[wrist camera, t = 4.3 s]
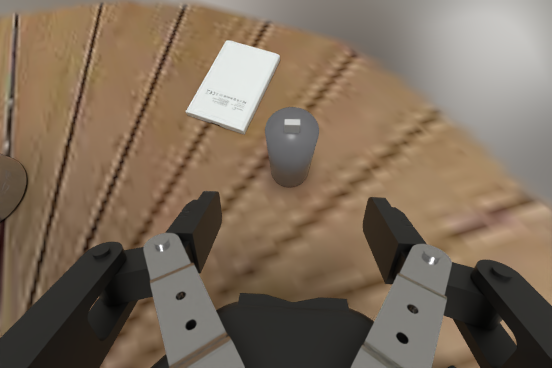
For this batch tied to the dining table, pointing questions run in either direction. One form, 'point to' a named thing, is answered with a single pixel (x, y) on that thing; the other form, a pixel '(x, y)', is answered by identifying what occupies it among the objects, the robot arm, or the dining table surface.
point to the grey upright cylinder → (291, 144)
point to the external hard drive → (234, 86)
